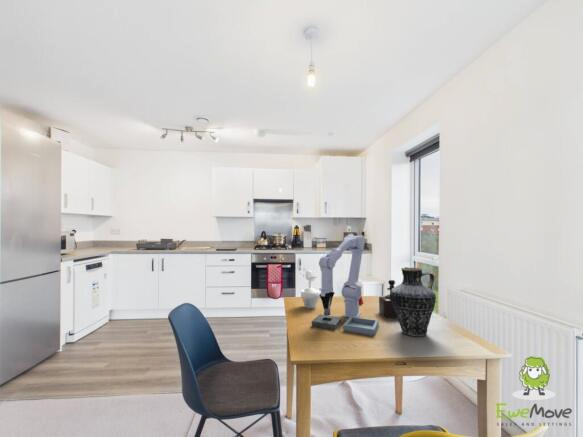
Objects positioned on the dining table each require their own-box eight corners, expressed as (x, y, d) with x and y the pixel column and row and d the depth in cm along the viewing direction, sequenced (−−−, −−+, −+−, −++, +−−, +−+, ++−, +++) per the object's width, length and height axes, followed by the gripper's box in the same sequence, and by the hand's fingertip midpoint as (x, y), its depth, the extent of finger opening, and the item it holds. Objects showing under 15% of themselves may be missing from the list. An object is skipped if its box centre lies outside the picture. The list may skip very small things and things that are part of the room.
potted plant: (298, 305, 180) (298, 264, 181) (315, 303, 184) (315, 264, 184) (305, 311, 168) (305, 267, 168) (323, 309, 172) (323, 267, 172)
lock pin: (324, 312, 149) (324, 295, 150) (332, 313, 148) (332, 296, 148) (322, 315, 146) (322, 297, 146) (329, 316, 144) (329, 298, 144)
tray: (350, 322, 150) (350, 316, 150) (378, 326, 144) (378, 320, 144) (343, 331, 137) (343, 325, 137) (374, 336, 131) (374, 329, 131)
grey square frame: (319, 319, 155) (319, 314, 155) (341, 322, 150) (341, 317, 150) (311, 326, 144) (311, 321, 144) (335, 330, 139) (335, 324, 139)
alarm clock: (349, 300, 180) (343, 289, 194) (348, 309, 181) (342, 297, 196) (366, 299, 181) (358, 288, 195) (365, 308, 182) (358, 297, 197)
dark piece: (405, 318, 156) (405, 284, 156) (385, 318, 156) (385, 284, 156) (394, 309, 172) (393, 279, 172) (375, 309, 171) (375, 279, 171)
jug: (408, 343, 123) (407, 272, 124) (382, 327, 142) (381, 266, 143) (448, 338, 129) (447, 270, 129) (418, 323, 148) (417, 264, 148)
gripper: (324, 277, 155) (324, 302, 155) (314, 282, 142) (314, 310, 142) (336, 278, 152) (336, 304, 152) (328, 283, 139) (328, 312, 139)
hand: (327, 307), depth 147 cm, fingers closed on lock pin, 4 cm apart
